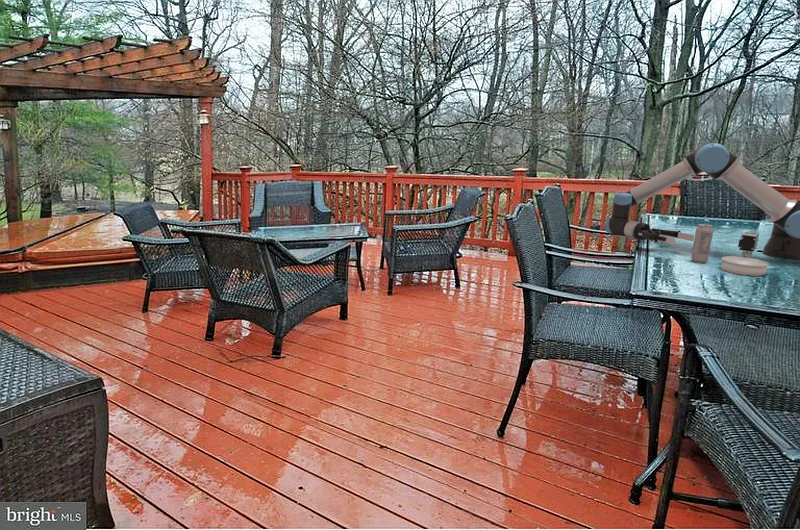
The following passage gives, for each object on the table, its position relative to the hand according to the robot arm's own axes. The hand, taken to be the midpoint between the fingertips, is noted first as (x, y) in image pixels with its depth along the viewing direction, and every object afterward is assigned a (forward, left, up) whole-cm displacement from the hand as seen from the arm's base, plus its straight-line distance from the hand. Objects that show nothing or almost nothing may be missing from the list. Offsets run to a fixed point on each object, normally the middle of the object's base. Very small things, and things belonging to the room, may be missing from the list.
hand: (684, 239), depth 208 cm
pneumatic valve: (-26, -1, -8) cm, 27 cm away
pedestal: (-15, +19, -8) cm, 25 cm away
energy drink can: (-5, +6, -8) cm, 11 cm away
